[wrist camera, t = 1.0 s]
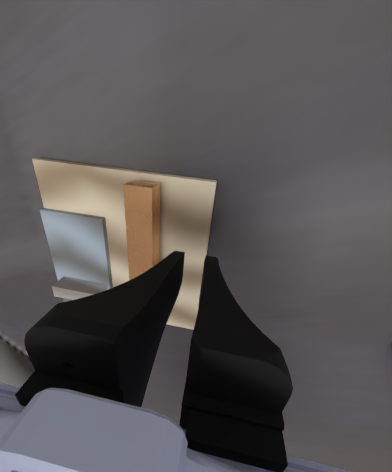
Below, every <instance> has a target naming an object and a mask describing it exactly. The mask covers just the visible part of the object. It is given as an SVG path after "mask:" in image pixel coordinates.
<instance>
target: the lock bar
mask: <svg viewBox="0 0 392 472" xmlns="http://www.w3.org/2000/svg"><path fill="white" fill-rule="evenodd" d="M123 190H124V206H125V221H126V237H127V253H128V268H129V280H131V279H133V278H135V277H137V276H139V275H141V274H142V273H144V272H146V271H147V270H149V269H150V268H152V267H153V266H155V265H156V264H157V263H159V222H160V183H154V182H146V181H139V180H132V181H130V182H127V183H125V184H123Z"/></svg>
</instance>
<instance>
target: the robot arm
mask: <svg viewBox="0 0 392 472" xmlns="http://www.w3.org/2000/svg"><path fill="white" fill-rule="evenodd" d="M184 256H185V252H180V251H173V252H172V253H171V254H169V255H168V256H167V257H166V258H164V259H163V260H162V261H160V262H159V263H157V264H156V265H155V266H153V267H152V268H150V269H149V270H147V271H146V272H144V273H142V274H141V275H139V276H137V277H135V278H133V279H131V280H129V281H127V282H125V283H123V284H120V285H118V286H116V287H113V288H111V289H108V290H105V291H102V292H100V293H96V294H93V295H90V296H87V297H83V298H79V299H75V300H71V301H67V302H63V303H58V304H57V305H56V306H54V307H53V308H52V309H51V310H50V311H49V312H48V313H47V314H46V315H45V316H44V317H43V318H42V319H40V320H39V321H38V322H37V323H36V324H35V325H34V326H33V327H32V328H31V329H30V330H29V331H28V332H27V333H26V335H25V347H26V350H27V353H28V355H29V357H30V360H31V362H32V364H33V367H34V369H35V372H34V373H33V374H32V375H31V376H30V377H29V379H28V380H27V381H26V382H25V383H24V385H23V386H22V387H21V388H19V387H16V386H12V385H8V384H4V383H0V472H352V471H349V470H345V469H341V468H337V467H333V466H329V465H325V464H321V463H317V462H313V461H309V460H305V459H301V458H297V457H293V456H289V455H286V451H285V445H284V439H283V434H282V430H284V421H283V415H282V411H283V409H284V407H285V406H286V404H287V402H288V400H289V398H290V397H291V394H292V390H293V387H292V382H291V377H290V374H289V370H288V368H287V365H286V362H285V360H284V357H283V355H282V352H281V350H280V348H279V347H278V346H277V345H275V344H274V343H273V342H272V341H271V340H270V339H269V338H268V337H267V336H265V335H264V334H263V333H262V332H261V331H260V330H259V329H258V328H257V327H256V326H255V325H254V324H253V323H252V321H251V320H250V319H249V318H248V317H247V315H246V314H245V313H244V312H243V310H242V309H241V308H240V306H239V305H238V303H237V302H236V300H235V299H234V297H233V296H232V294H231V292H230V290H229V288H228V286H227V285H226V282H225V280H224V278H223V275H222V273H221V270H220V267H219V263H218V259H217V258H216V257H211V256H206V257H205V260H204V267H203V274H202V282H201V289H200V297H199V308H198V313H197V318H196V322H195V326H194V331H193V335H192V339H191V346H190V354H189V362H188V370H187V378H186V384H185V390H184V395H183V400H182V410H181V418H180V425H178V424H177V423H176V422H174V421H173V420H172V419H171V418H169V417H168V416H165V415H163V414H160V413H157V412H155V411H152V410H149V409H145V408H141V406H142V402H143V398H144V395H145V391H146V388H147V384H148V380H149V377H150V373H151V370H152V367H153V363H154V360H155V356H156V353H157V350H158V347H159V343H160V340H161V337H162V334H163V331H164V328H165V326H166V324H167V321H168V319H169V316H170V314H171V312H172V309H173V307H174V304H175V302H176V300H177V297H178V295H179V291H180V288H181V284H182V280H183V268H184Z"/></svg>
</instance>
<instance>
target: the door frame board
mask: <svg viewBox="0 0 392 472" xmlns="http://www.w3.org/2000/svg"><path fill="white" fill-rule="evenodd" d="M32 160H33V164H34V168H35V173H36V177H37V181H38V185H39V189H40V193H41V197H42V201H43V205H44V208H43V209H40V213H41V217H42V221H43V225H44V229H45V232H46V236H47V240H48V244H49V248H50V252H51V255H52V259H53V263H54V267H55V271H56V275H57V278H58V282H56V283H55V284H54V285H53V286H52V289H53V292H54V296H56V297H61V298H63V302H67V301H71V300H75V299H79V298H83V297H87V296H90V295H93V294H96V293H100V292H102V291H105V290H108V289H111V288H113V287H116V286H118V285H120V284H123V283H125V282H127V281H129V268H128V253H127V237H126V221H125V206H124V190H123V184H125V183H127V182H130V181H132V180H139V181H146V182H154V183H160V222H159V262H160V261H162V260H163V259H164V258H166V257H167V256H168V255H169V254H171V253H172V252H173V251H180V252H185V256H184V268H183V280H182V284H181V288H180V291H179V295H178V297H177V300H176V302H175V304H174V307H173V309H172V312H171V314H170V316H169V319H168V321H167V324H168V325H173V326H178V327H183V328H188V329H193V330H194V326H195V322H196V318H197V313H198V308H199V297H200V289H201V282H202V274H203V267H204V260H205V257H206V256H207V249H208V241H209V234H210V227H211V220H212V213H213V205H214V198H215V191H216V184H217V180H210V179H202V178H194V177H186V176H178V175H171V174H163V173H155V172H147V171H139V170H131V169H123V168H115V167H107V166H99V165H91V164H84V163H76V162H68V161H60V160H52V159H44V158H36V159H32Z"/></svg>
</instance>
